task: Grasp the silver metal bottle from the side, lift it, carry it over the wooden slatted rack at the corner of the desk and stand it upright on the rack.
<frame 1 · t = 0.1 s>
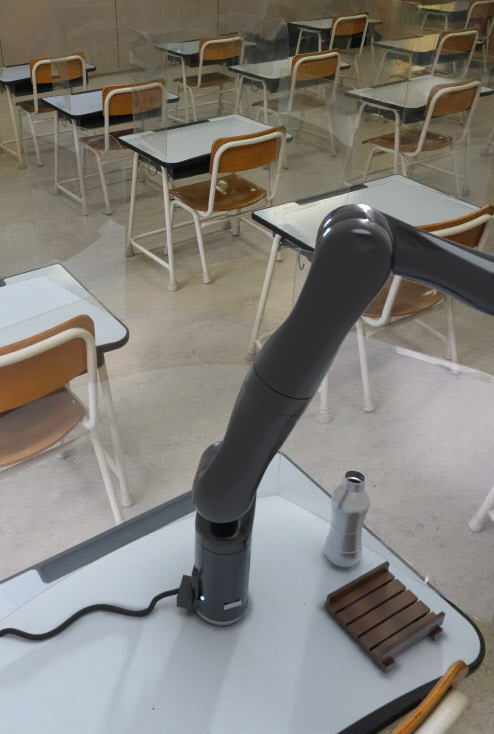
silver metal bottle: (341, 558, 127), on the table
wooden slatted rack: (381, 621, 115), on the table
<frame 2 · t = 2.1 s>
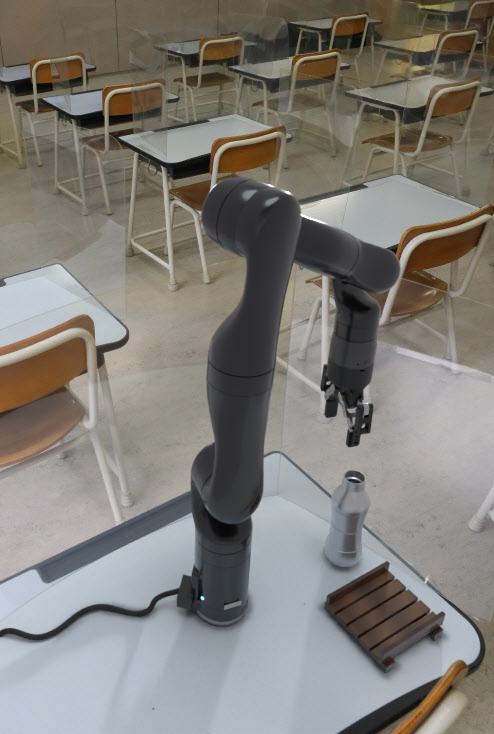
hand: (340, 430, 123), 23 cm above the table, tool pointing down, fingers open, 8 cm apart
nothing on the table moved.
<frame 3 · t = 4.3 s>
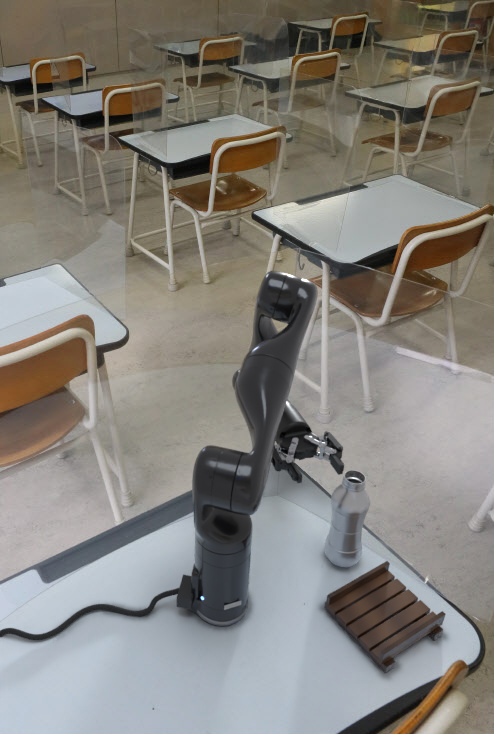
hand: (321, 475, 130), 11 cm above the table, tool horizontal, fingers open, 8 cm apart
nothing on the table moved.
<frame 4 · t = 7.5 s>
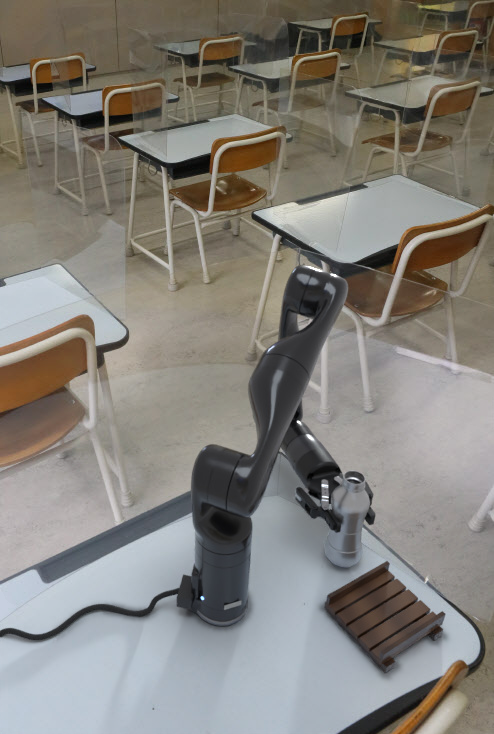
hand: (355, 525, 120), 11 cm above the table, tool horizontal, fingers closed on silver metal bottle, 6 cm apart
silver metal bottle: (341, 558, 127), on the table, touching gripper
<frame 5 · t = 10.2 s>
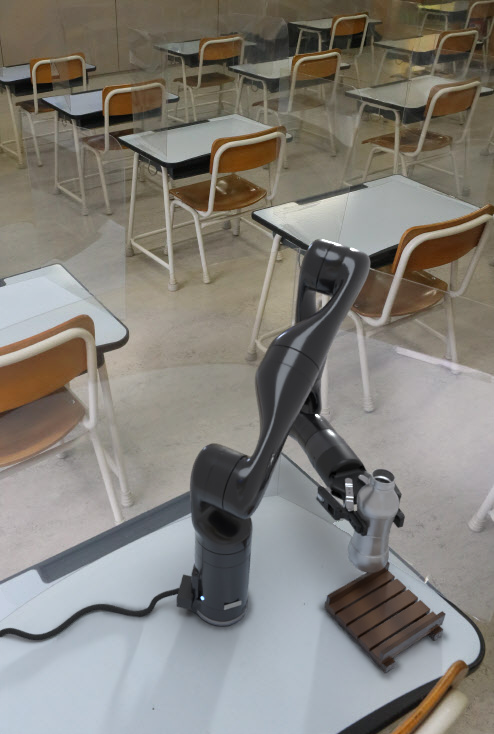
hand: (383, 527, 110), 18 cm above the table, tool horizontal, fingers closed on silver metal bottle, 6 cm apart
silver metal bottle: (365, 563, 118), point 7 cm above the table, touching gripper
when the fingers open (14 cm above the table, at t = 13.0 s): silver metal bottle stays where it is, resting on wooden slatted rack.
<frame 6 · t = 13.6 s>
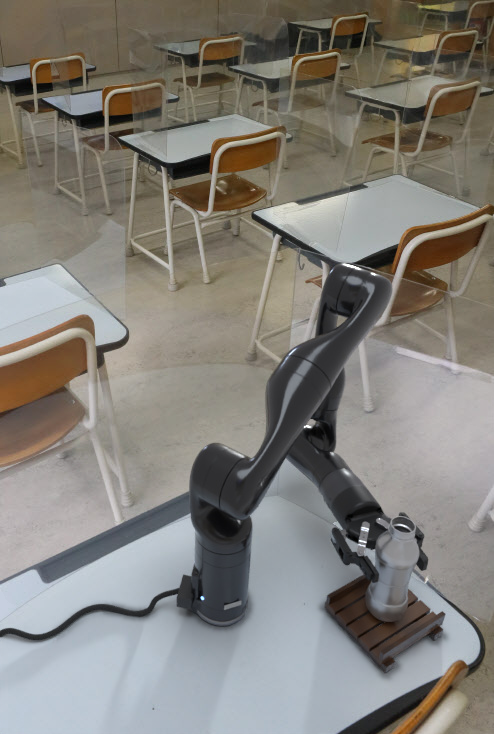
hand: (401, 573, 107), 14 cm above the table, tool horizontal, fingers open, 8 cm apart
silver metal bottle: (383, 611, 114), point 2 cm above the table, touching wooden slatted rack
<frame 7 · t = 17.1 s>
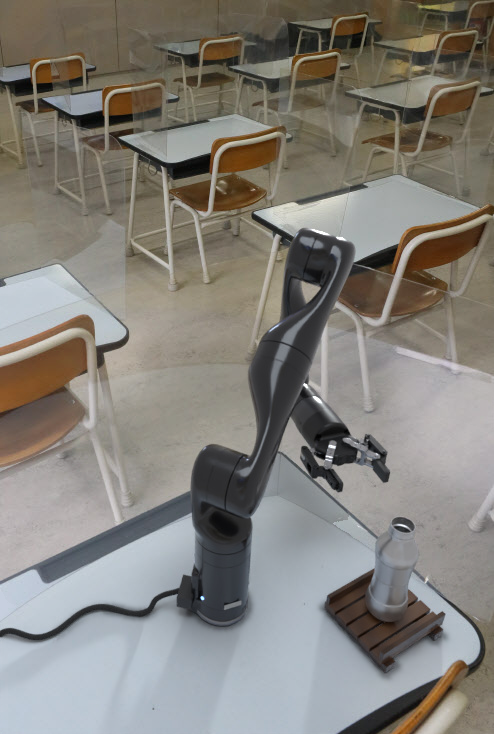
hand: (364, 483, 114), 21 cm above the table, tool horizontal, fingers open, 8 cm apart
nothing on the table moved.
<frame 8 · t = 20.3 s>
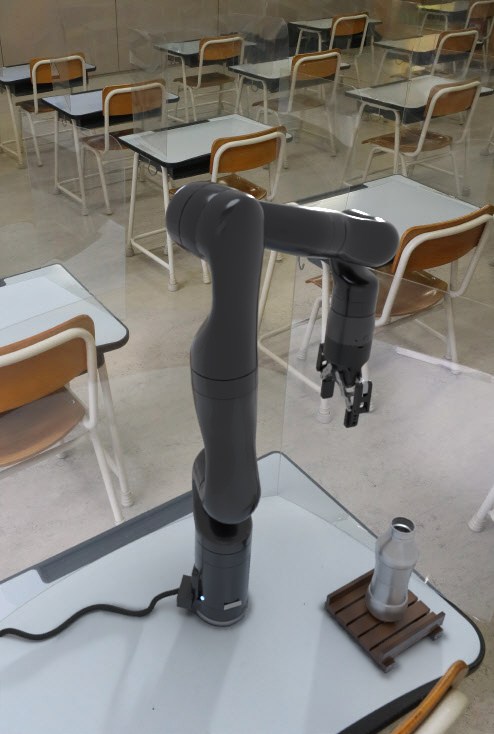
hand: (337, 411, 120), 28 cm above the table, tool pointing down, fingers open, 8 cm apart
nothing on the table moved.
at the end: silver metal bottle inside the target area on the wooden slatted rack (0.1 cm from its centre), point 2.3 cm above the wooden slatted rack's base; silver metal bottle tilted 0°; the gripper is holding nothing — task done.
